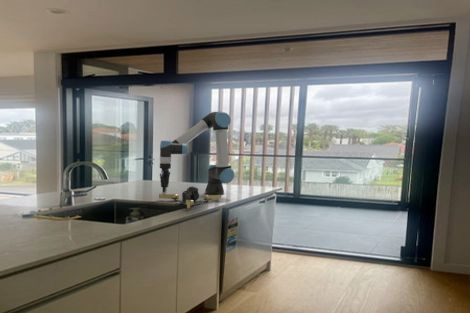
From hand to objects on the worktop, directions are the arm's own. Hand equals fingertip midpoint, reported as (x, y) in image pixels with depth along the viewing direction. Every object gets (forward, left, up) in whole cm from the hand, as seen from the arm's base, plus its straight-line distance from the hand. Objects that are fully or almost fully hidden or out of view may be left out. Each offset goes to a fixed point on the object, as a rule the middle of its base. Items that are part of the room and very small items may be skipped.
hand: (164, 196), depth 251 cm
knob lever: (0, +4, -2) cm, 4 cm away
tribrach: (-2, +21, -3) cm, 21 cm away
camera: (-3, +20, -2) cm, 21 cm away
